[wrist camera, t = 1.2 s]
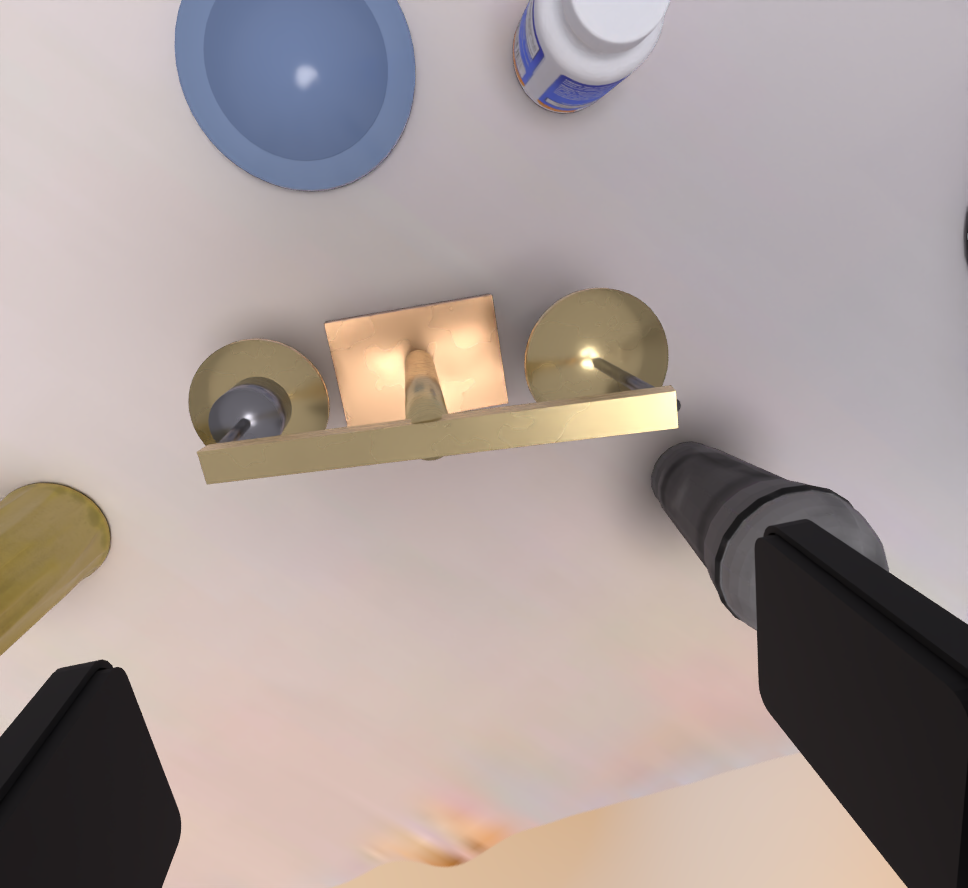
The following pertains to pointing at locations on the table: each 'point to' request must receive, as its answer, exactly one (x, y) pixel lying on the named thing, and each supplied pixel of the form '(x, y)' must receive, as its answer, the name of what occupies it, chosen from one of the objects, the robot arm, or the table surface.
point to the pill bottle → (582, 48)
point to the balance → (432, 387)
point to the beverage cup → (745, 516)
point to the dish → (298, 84)
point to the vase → (45, 552)
